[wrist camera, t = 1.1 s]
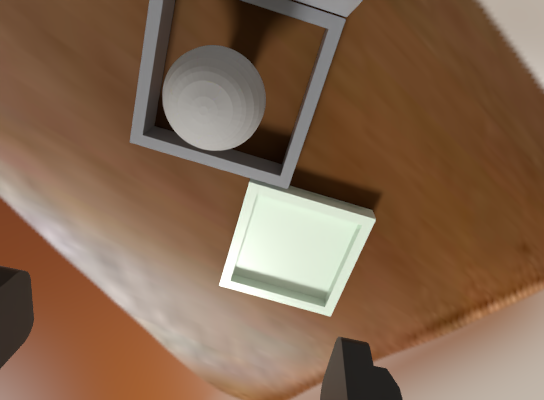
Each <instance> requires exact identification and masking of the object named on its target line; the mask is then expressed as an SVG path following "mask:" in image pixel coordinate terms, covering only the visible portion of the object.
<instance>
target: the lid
mask: <svg viewBox="0 0 544 400" xmlns="http://www.w3.org/2000/svg"><path fill="white" fill-rule="evenodd" d="M296 1H299V2H302V3H305V4H308V5H311V6H314V7H317V8H320V9H323V10H326V11H329V12H332V13H335V14H338V15H341V16H344V17H348V15H349V14H350V13H351V12H352V11H353V10H354V9H355V8H356V7H357V6H358V5H359V4H360V3H361V2H362V0H296Z"/></svg>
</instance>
